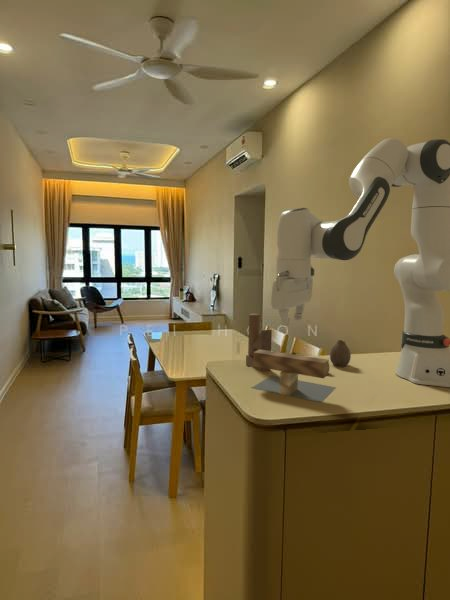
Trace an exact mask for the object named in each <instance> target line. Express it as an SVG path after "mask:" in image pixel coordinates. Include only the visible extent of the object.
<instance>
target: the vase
mask: <svg viewBox="0 0 450 600" xmlns="http://www.w3.org/2000/svg"><path fill="white" fill-rule="evenodd" d="M351 355H352V354H351V350H350V348H349V346H348V345H347V344H346V342H345V340H343V339H342V340H340V339H339V340H338V339H337V341H336V343H334V344H333V346H332V347H331V349H330V353H329V359H330V361H331V363H332V365H333V366H335V367H336V368H337V367H338V368H344V367H346V366H348V365H349V363H350V361H351Z"/></svg>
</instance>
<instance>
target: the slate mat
mask: <svg viewBox="0 0 450 600" xmlns="http://www.w3.org/2000/svg"><path fill="white" fill-rule="evenodd" d="M336 388H337V387H336V386H332V385H326V384H321V383H314V382H311V381H310V382H309V381H305V380H300V379H298V389H297V390H296V391H295V392H294V393H292V394H291V395H290V396H289V397H291V398H292V397H293V398H296V399H302V400H307V401H311V402H315V403H320V404H321V403H322V402H324V401H325V399H327V398H328V396H329V395H331V393H333V392H334V390H336ZM251 389H255V390H259V391H263V392H267V393H268V392H269V393H273V394H278V395H283V394H280V376H277V375H270V376H268V377H267V378H264V379H263V380H262V381H260V382H258V383H257V384H255V385H253V386H252V387H251ZM283 396H284V395H283Z"/></svg>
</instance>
